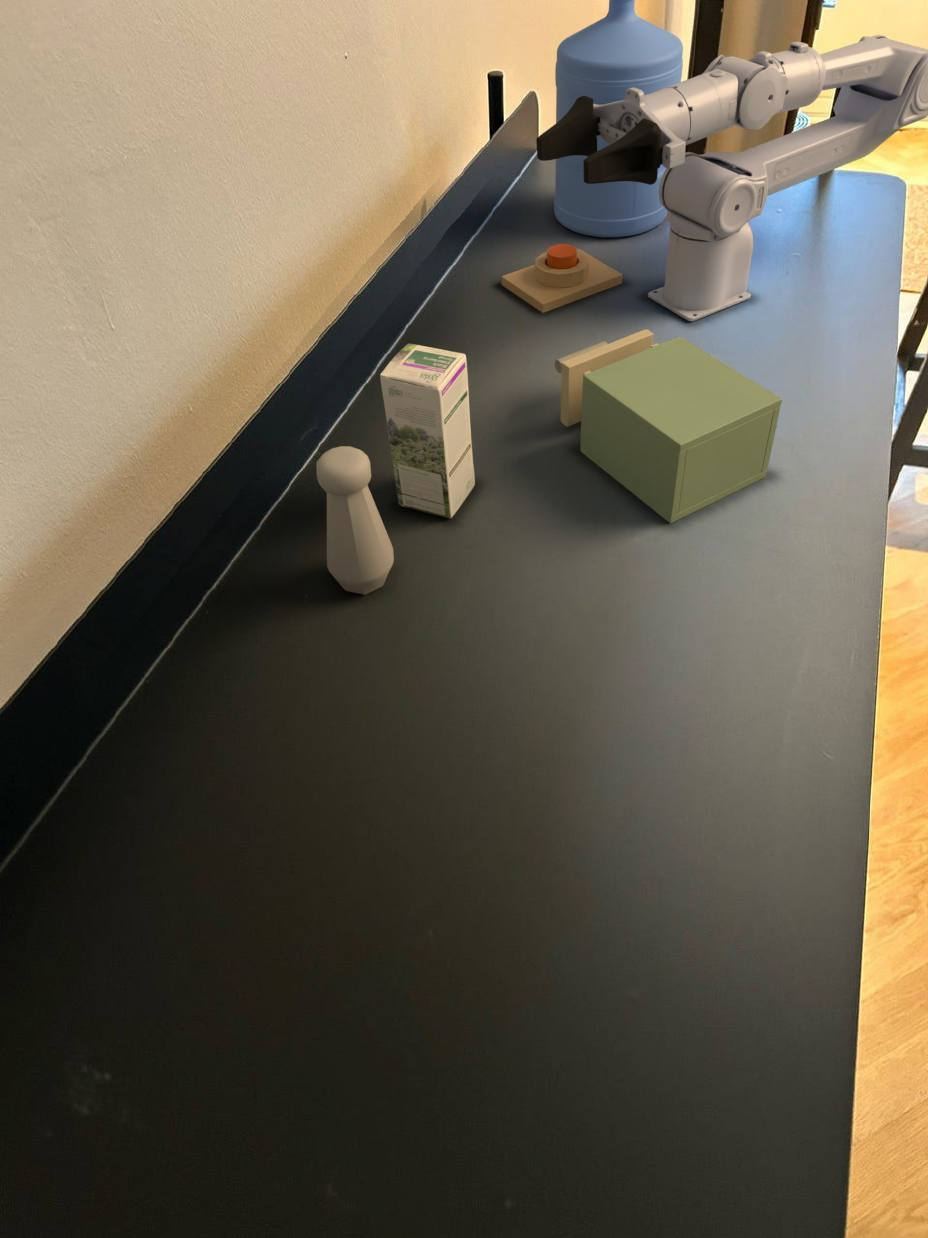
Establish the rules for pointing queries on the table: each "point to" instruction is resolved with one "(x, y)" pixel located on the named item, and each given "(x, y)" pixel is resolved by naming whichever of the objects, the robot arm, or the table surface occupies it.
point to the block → (560, 281)
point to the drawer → (593, 369)
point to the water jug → (604, 72)
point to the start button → (562, 256)
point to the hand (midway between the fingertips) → (561, 160)
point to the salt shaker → (353, 522)
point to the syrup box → (429, 428)
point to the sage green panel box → (677, 427)
